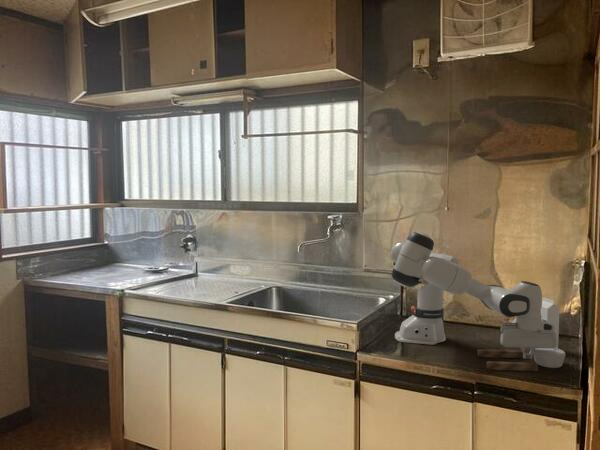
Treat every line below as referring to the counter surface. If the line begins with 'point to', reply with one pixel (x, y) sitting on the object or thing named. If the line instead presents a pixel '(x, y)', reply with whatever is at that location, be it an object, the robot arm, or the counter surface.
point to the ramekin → (549, 357)
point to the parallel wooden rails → (506, 365)
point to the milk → (551, 314)
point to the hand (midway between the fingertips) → (527, 358)
